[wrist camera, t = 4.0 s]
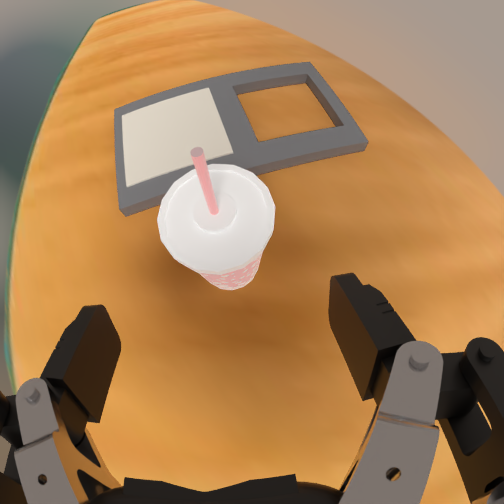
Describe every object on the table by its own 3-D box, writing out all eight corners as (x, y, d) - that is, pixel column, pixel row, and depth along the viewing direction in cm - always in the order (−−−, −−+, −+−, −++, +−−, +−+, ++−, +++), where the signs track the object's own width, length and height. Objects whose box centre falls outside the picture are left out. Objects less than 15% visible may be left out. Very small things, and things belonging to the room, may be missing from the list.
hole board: (308, 70, 30) (309, 60, 29) (364, 150, 26) (369, 140, 25) (118, 117, 28) (113, 108, 27) (125, 216, 24) (118, 208, 23)
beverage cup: (235, 316, 22) (200, 271, 8) (177, 267, 23) (90, 172, 10) (284, 256, 23) (317, 142, 10) (226, 212, 24) (198, 80, 11)
